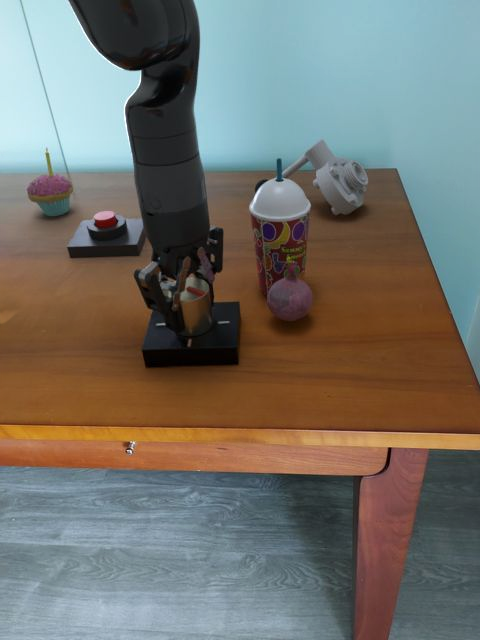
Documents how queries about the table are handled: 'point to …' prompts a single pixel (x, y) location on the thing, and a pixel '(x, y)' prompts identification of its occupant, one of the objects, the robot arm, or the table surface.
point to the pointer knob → (195, 307)
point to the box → (108, 239)
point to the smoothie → (279, 229)
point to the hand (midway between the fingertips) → (191, 317)
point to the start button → (105, 219)
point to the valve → (332, 178)
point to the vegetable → (290, 296)
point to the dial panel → (195, 341)
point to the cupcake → (51, 192)
